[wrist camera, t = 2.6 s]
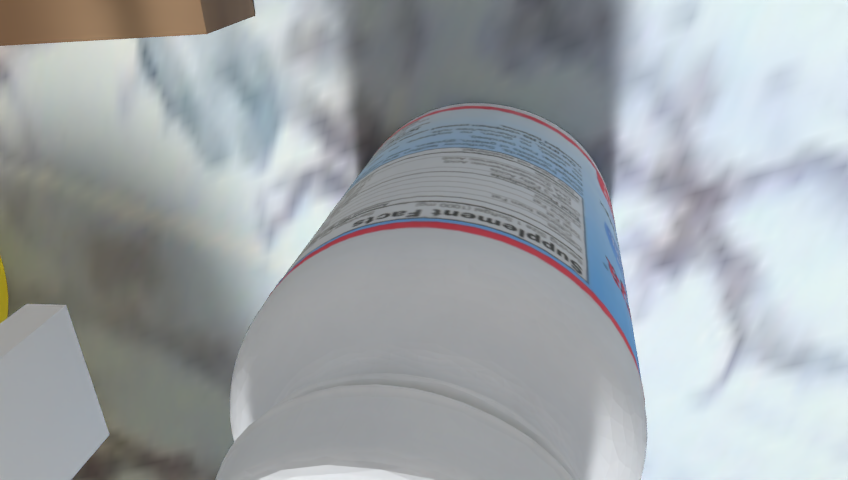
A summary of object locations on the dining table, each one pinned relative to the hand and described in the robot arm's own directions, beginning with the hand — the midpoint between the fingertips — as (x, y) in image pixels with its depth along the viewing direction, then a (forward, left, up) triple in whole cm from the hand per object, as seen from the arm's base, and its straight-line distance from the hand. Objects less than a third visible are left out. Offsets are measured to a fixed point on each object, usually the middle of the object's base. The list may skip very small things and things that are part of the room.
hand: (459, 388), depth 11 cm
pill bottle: (0, 0, -7) cm, 7 cm away
